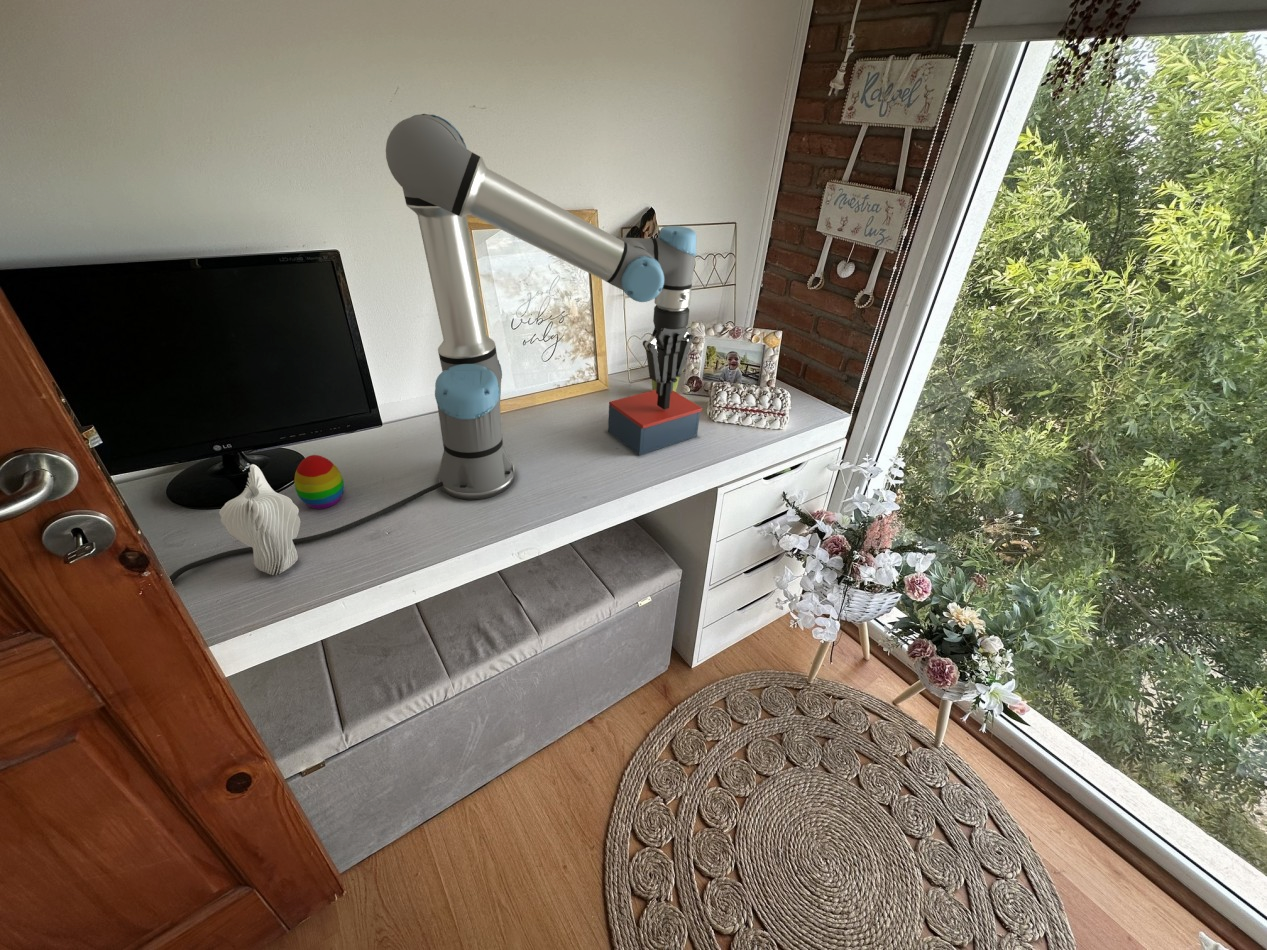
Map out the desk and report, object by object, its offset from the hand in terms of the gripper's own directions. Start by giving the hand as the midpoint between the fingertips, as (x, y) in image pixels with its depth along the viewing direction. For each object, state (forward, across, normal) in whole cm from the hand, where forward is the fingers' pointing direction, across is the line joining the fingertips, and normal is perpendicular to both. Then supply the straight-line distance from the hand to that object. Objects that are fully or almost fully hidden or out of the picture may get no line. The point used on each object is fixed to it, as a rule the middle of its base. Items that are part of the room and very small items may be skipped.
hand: (663, 406), depth 135 cm
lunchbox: (+9, 0, +3) cm, 9 cm away
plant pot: (+9, +16, +19) cm, 26 cm away
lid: (+2, 0, +3) cm, 3 cm away
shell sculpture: (+9, -82, -2) cm, 83 cm away
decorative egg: (+9, -72, +14) cm, 74 cm away
